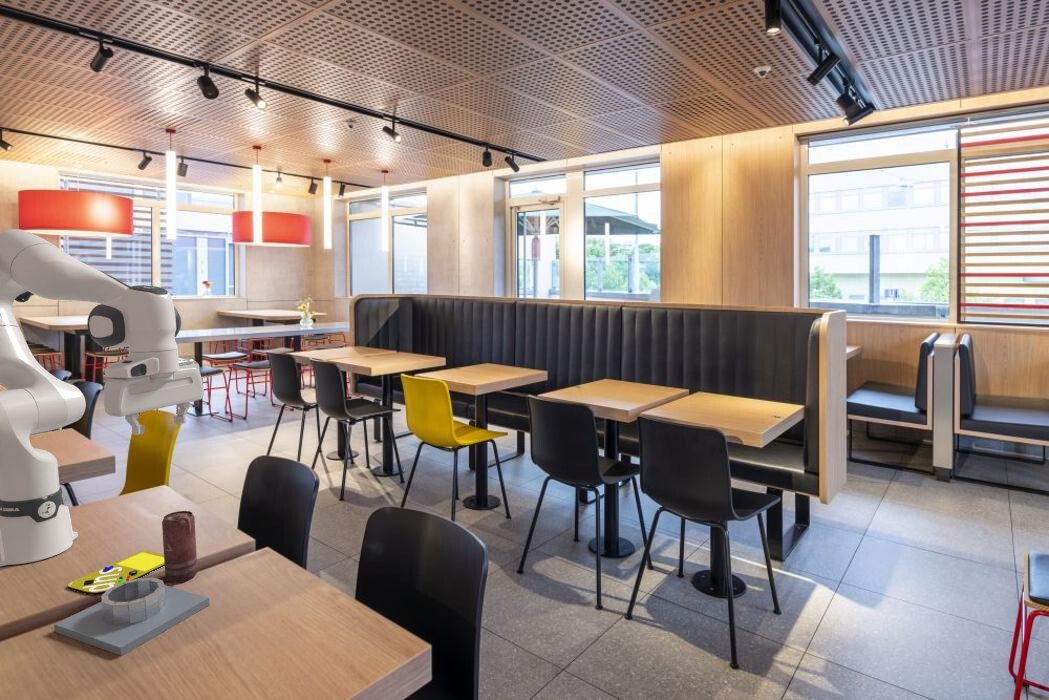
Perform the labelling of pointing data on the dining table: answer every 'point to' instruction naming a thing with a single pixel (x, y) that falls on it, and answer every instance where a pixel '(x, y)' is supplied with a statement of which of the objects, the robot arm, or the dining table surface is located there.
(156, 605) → the ring holder
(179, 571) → the can
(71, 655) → the dining table surface
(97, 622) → the base board
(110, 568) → the game console
